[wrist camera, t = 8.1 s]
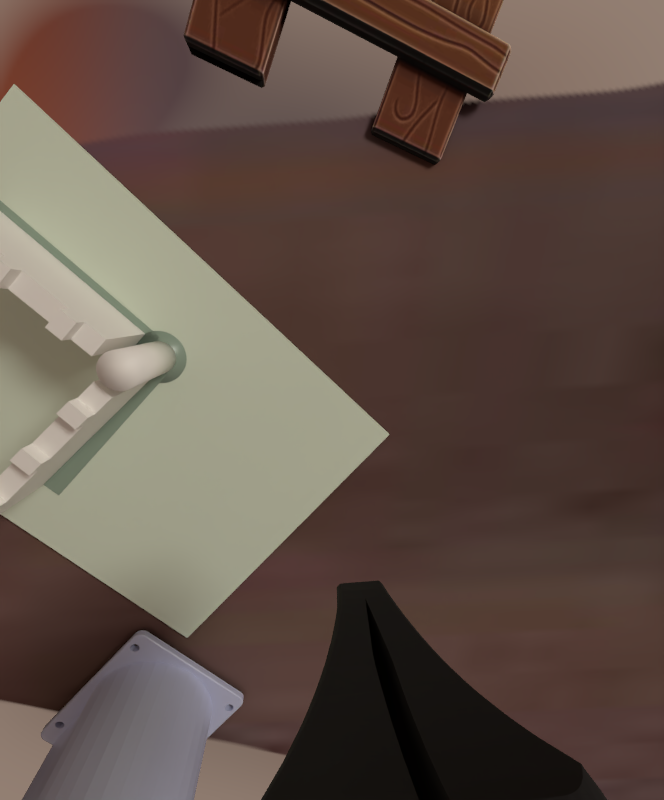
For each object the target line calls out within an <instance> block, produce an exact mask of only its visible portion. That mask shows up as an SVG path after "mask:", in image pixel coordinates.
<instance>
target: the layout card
mask: <svg viewBox="0 0 664 800" xmlns="http://www.w3.org/2000/svg"><path fill="white" fill-rule="evenodd" d="M0 211H1V212H2V213H3V214H5V215H6V216H7V217H8V218H9V219H10V220H12V221H13V222H14V223H15V224H16V225H18V226H19V227H20V228H21V229H22V230H23V231H25V232H26V233H27V234H28V235H29V236H30V237H32V238H33V239H34V240H35V241H36V242H38V243H39V244H40V245H41V246H42V247H43V248H45V249H46V250H47V251H48V252H49V253H51V254H52V255H53V256H54V257H55V258H56V259H58V260H59V261H60V262H61V263H62V264H63V265H65V266H66V267H67V268H68V269H69V270H71V271H72V272H73V273H74V274H75V275H76V276H78V277H79V278H80V279H81V280H82V281H84V282H85V283H86V284H87V285H88V286H89V287H91V288H92V289H93V290H94V291H95V292H96V293H98V294H99V295H100V296H101V297H102V298H104V299H105V300H106V301H107V302H108V303H109V304H111V305H112V306H113V307H114V308H115V309H117V310H118V311H119V312H120V313H121V314H122V315H124V316H125V317H126V318H127V319H128V320H129V321H131V322H132V323H133V324H134V325H135V326H137V327H138V328H139V329H140V330H141V331H142V332H144V333H145V335H144V336H143V337H142V338H141V339H140V340H139V342H138V343H137V344H136V345H140V344H145V343H150V342H154V341H161V342H165V343H167V344H168V345H170V346H171V347H172V348H173V350H174V352H175V355H176V363H175V365H174V367H173V368H172V369H171V370H170V371H168V372H166V373H164V374H162V375H160V376H157V377H155V378H153V379H151V380H149V381H148V382H147V383H146V384H145V385H144V386H143V387H142V388H141V389H140V390H139V391H138V392H137V393H136V394H135V395H134V396H133V397H132V398H131V399H130V400H129V401H128V402H127V403H126V404H125V405H124V406H123V407H122V408H121V409H120V410H119V411H118V412H117V413H116V414H115V415H114V416H113V417H112V418H110V419H109V420H108V421H107V422H106V423H105V424H104V425H103V426H102V427H101V428H100V429H99V430H98V431H97V432H96V433H95V434H94V435H93V436H92V437H91V438H90V439H89V440H88V441H87V442H86V443H85V444H84V445H83V446H82V447H81V448H80V449H79V450H78V451H77V452H76V453H75V454H74V455H73V456H72V457H71V458H70V459H69V460H68V461H67V462H66V463H65V464H64V465H63V466H62V467H61V468H60V469H59V470H58V471H57V472H56V473H55V474H54V475H53V476H52V477H51V478H50V479H49V480H48V481H46V482H45V483H44V484H43V485H42V486H41V487H40V488H38V489H37V490H35V491H34V492H32V493H31V494H29V495H28V496H26V497H25V498H24V499H22V500H21V501H19V502H18V503H16V504H15V505H13V506H12V507H10V508H9V509H7V510H6V511H4V512H3V513H1V515H2V516H4V517H5V518H7V519H8V520H10V521H12V522H13V523H15V524H16V525H18V526H19V527H21V528H22V529H24V530H25V531H27V532H28V533H30V534H31V535H33V536H34V537H36V538H37V539H39V540H40V541H42V542H43V543H45V544H46V545H48V546H49V547H51V548H52V549H54V550H55V551H57V552H58V553H60V554H61V555H63V556H64V557H66V558H67V559H69V560H70V561H72V562H73V563H75V564H76V565H78V566H79V567H81V568H82V569H84V570H85V571H87V572H88V573H90V574H91V575H93V576H94V577H96V578H97V579H99V580H100V581H102V582H103V583H105V584H106V585H108V586H109V587H111V588H112V589H114V590H115V591H117V592H118V593H120V594H121V595H123V596H124V597H126V598H128V599H129V600H131V601H132V602H134V603H135V604H137V605H138V606H140V607H141V608H143V609H144V610H146V611H147V612H149V613H150V614H152V615H153V616H155V617H156V618H158V619H159V620H161V621H162V622H164V623H165V624H167V625H168V626H170V627H171V628H173V629H174V630H176V631H177V632H179V633H180V634H182V635H183V636H185V637H186V638H188V637H189V636H190V635H191V634H192V633H193V632H194V631H195V630H196V629H197V628H198V627H199V626H200V625H201V624H202V623H203V622H204V621H205V620H206V619H207V618H208V617H209V616H210V615H211V614H212V613H213V612H214V611H215V610H216V609H217V608H218V607H219V606H220V605H221V603H222V602H223V601H224V600H225V599H226V598H227V597H228V596H229V595H230V594H231V593H232V592H233V591H234V590H235V589H236V588H237V587H238V586H239V585H240V584H241V583H242V582H243V581H244V580H245V579H246V578H247V577H248V576H249V575H250V574H251V573H252V572H253V571H254V570H255V569H256V568H257V567H258V566H259V565H260V564H261V563H262V562H263V561H264V560H265V559H266V558H267V557H268V556H269V555H270V554H271V553H272V552H273V551H274V550H275V549H276V548H277V547H278V546H279V545H280V544H281V543H282V542H283V541H284V540H285V539H286V538H287V537H288V536H289V535H290V534H291V533H292V532H293V531H294V530H295V529H296V528H297V527H298V526H299V525H300V524H301V523H302V522H303V521H304V520H305V519H306V518H307V517H308V516H309V515H310V514H311V513H312V512H313V511H314V510H315V509H316V508H317V507H318V506H319V505H320V504H321V503H322V502H323V501H324V500H325V499H326V498H327V497H328V496H329V495H330V494H331V493H332V492H333V491H334V490H335V489H336V488H337V487H338V486H339V485H340V484H341V483H342V482H343V481H344V480H345V479H346V478H347V477H348V476H349V475H350V474H351V473H352V472H353V471H354V470H355V469H356V468H357V467H358V466H359V465H360V464H361V463H362V462H363V461H364V460H365V459H366V458H367V457H368V456H369V455H370V454H371V453H372V452H373V451H374V450H375V449H376V448H377V447H378V446H379V444H380V443H381V442H382V441H383V440H384V439H385V438H386V437H387V436H388V435H389V433H388V432H387V431H385V430H384V429H383V428H382V427H381V426H380V425H379V424H378V423H377V422H376V421H375V420H374V419H373V418H372V417H371V416H369V415H368V414H367V413H366V412H365V411H364V410H363V409H362V408H361V407H360V406H359V405H358V404H357V403H356V402H354V401H353V400H352V399H351V398H350V397H349V396H348V395H347V394H346V393H345V392H344V391H343V390H342V389H341V388H339V387H338V386H337V385H336V384H335V383H334V382H333V381H332V380H331V379H330V378H329V377H328V376H327V375H326V374H324V373H323V372H322V371H321V370H320V369H319V368H318V367H317V366H316V365H315V364H314V363H313V362H312V361H311V360H309V359H308V358H307V357H306V356H305V355H304V354H303V353H302V352H301V351H300V350H299V349H298V348H297V347H296V346H294V345H293V344H292V343H291V342H290V341H289V340H288V339H287V338H286V337H285V336H284V335H283V334H282V333H281V332H279V331H278V330H277V329H276V328H275V327H274V326H273V325H272V324H271V323H270V322H269V321H268V320H267V319H266V318H264V317H263V316H262V315H261V314H260V313H259V312H258V311H257V310H256V309H255V308H254V307H253V306H252V305H251V304H250V303H248V302H247V301H246V300H245V299H244V298H243V297H242V296H241V295H240V294H239V293H238V292H237V291H236V290H235V289H233V288H232V287H231V286H230V285H229V284H228V283H227V282H226V281H225V280H224V279H223V278H222V277H221V276H220V275H218V274H217V273H216V272H215V271H214V270H213V269H212V268H211V267H210V266H209V265H208V264H207V263H206V262H205V261H203V260H202V259H201V258H200V257H199V256H198V255H197V254H196V253H195V252H194V251H193V250H192V249H191V248H190V247H188V246H187V245H186V244H185V243H184V242H183V241H182V240H181V239H180V238H179V237H178V236H177V235H176V234H175V233H173V232H172V231H171V230H170V229H169V228H168V227H167V226H166V225H165V224H164V223H163V222H162V221H161V220H160V219H158V218H157V217H156V216H155V215H154V214H153V213H152V212H151V211H150V210H149V209H148V208H147V207H146V206H145V205H143V204H142V203H141V202H140V201H139V200H138V199H137V198H136V197H135V196H134V195H133V194H132V193H131V192H130V191H128V190H127V189H126V188H125V187H124V186H123V185H122V184H121V183H120V182H119V181H118V180H117V179H116V178H115V177H114V176H112V175H111V174H110V173H109V172H108V171H107V170H106V169H105V168H104V167H103V166H102V165H101V164H100V163H99V162H97V161H96V160H95V159H94V158H93V157H92V156H91V155H90V154H89V153H88V152H87V151H86V150H85V149H84V148H82V147H81V146H80V145H79V144H78V143H77V142H76V141H75V140H74V139H73V138H71V136H69V134H67V133H66V132H65V131H64V130H63V129H62V128H61V127H60V126H59V125H58V124H57V123H56V122H55V121H54V120H52V119H51V118H50V117H49V116H48V115H47V114H46V113H45V112H44V111H43V110H42V109H41V108H40V107H38V106H37V105H36V104H35V103H34V102H33V101H32V100H31V99H30V98H29V97H28V96H27V95H26V94H25V93H23V92H22V91H21V90H20V89H19V88H18V87H17V86H16V85H15V84H14V85H13V86H12V87H11V89H10V90H9V91H8V93H7V94H6V95H5V97H4V98H3V99H2V101H1V102H0ZM48 323H49V322H48V321H47V320H46V319H45V318H43V317H42V316H41V315H40V314H38V313H37V312H36V311H35V310H33V309H32V308H31V307H30V306H28V305H27V304H26V303H25V302H23V301H22V300H21V299H20V298H18V297H17V296H16V295H15V294H13V293H12V292H11V291H10V290H9V289H3V288H0V475H1V474H2V473H3V472H4V471H5V470H6V469H7V468H8V467H9V466H10V465H11V464H12V462H11V461H10V460H11V459H12V458H13V457H14V456H15V455H16V454H17V453H18V452H19V451H20V450H21V449H22V448H24V447H26V446H28V445H30V444H32V443H33V442H34V441H35V440H36V439H37V438H38V437H39V436H40V435H41V434H42V433H43V432H44V431H45V430H46V429H47V428H48V427H49V426H50V425H51V424H52V423H53V422H54V421H55V420H56V419H57V418H58V417H59V416H58V415H57V414H56V413H57V412H58V411H59V410H60V409H61V408H62V407H63V406H64V405H65V404H66V403H67V402H68V401H71V400H73V399H76V398H78V397H79V396H80V395H81V394H82V393H83V392H84V391H85V390H86V389H87V388H88V387H89V386H90V385H91V384H92V383H93V382H94V381H97V380H99V378H98V376H97V372H96V365H97V362H98V360H99V358H100V357H101V356H102V355H103V354H100V355H95V356H91V355H89V354H88V353H87V352H86V351H84V350H83V349H82V348H81V347H79V346H78V345H77V344H76V343H74V342H73V341H72V340H71V339H70V340H62V341H61V340H60V339H59V338H58V337H56V336H55V335H54V334H53V333H51V332H50V331H49V330H48V329H46V328H45V327H46V325H47V324H48Z"/></svg>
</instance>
